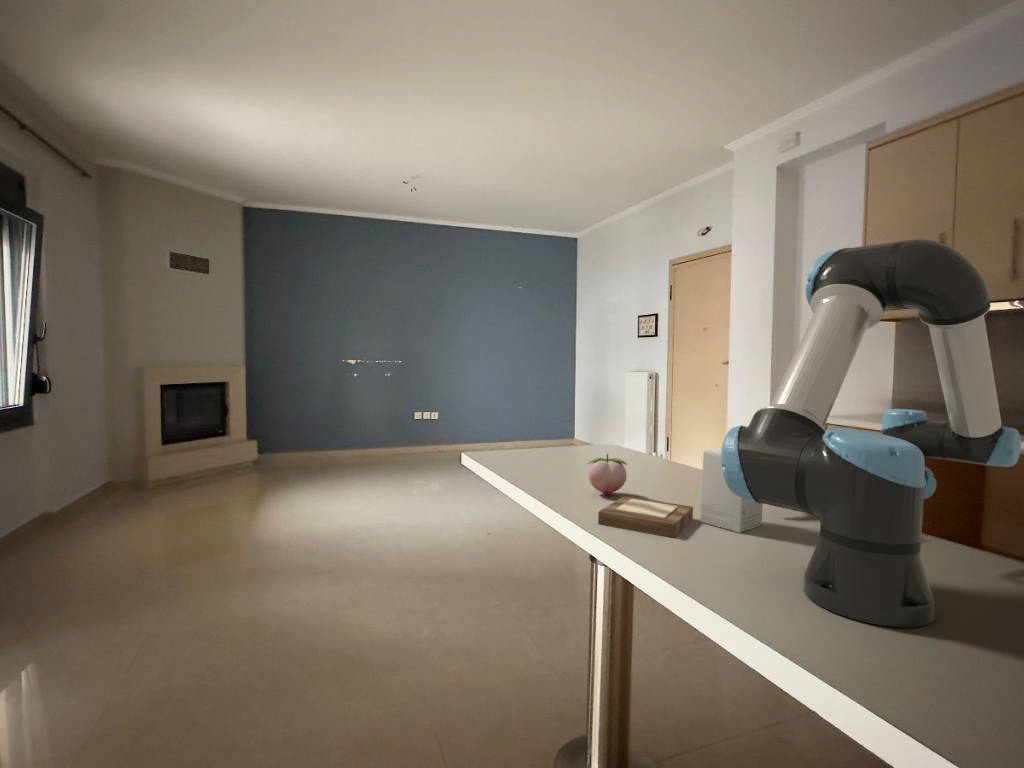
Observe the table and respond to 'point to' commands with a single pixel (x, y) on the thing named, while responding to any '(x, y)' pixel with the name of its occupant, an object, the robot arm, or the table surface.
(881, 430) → the robot arm
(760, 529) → the table surface
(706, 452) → the supplement box
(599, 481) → the decorative fruit
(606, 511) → the block
